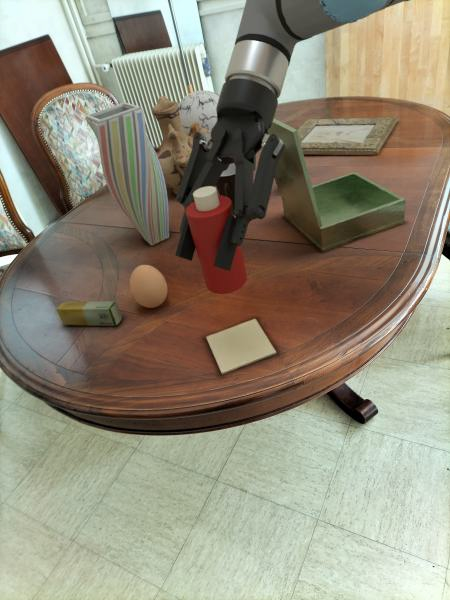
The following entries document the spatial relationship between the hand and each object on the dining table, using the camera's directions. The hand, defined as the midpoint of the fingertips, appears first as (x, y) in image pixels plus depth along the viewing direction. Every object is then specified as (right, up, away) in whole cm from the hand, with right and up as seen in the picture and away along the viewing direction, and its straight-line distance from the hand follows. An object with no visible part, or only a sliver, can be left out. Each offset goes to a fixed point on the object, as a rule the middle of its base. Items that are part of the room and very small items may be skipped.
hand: (202, 262), depth 55 cm
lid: (+16, +21, +26) cm, 37 cm away
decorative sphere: (-2, +46, +89) cm, 100 cm away
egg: (-10, -6, +26) cm, 29 cm away
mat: (+5, -12, +13) cm, 18 cm away
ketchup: (+3, -2, +5) cm, 7 cm away
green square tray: (+28, +13, +37) cm, 48 cm away
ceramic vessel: (-9, +27, +68) cm, 74 cm away
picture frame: (+38, +45, +76) cm, 96 cm away
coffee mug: (+5, +19, +52) cm, 56 cm away
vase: (-14, +10, +48) cm, 51 cm away
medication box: (-22, -9, +26) cm, 36 cm away
